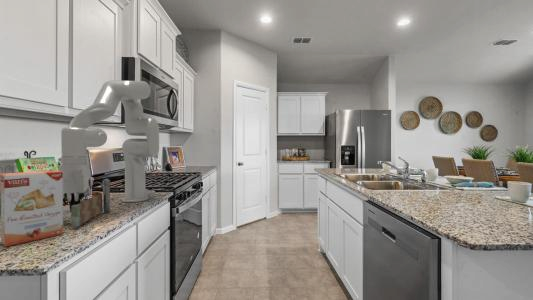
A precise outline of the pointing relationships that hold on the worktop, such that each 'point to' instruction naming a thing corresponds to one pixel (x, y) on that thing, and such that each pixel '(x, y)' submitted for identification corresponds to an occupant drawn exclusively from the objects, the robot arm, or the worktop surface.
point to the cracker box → (31, 206)
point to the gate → (86, 210)
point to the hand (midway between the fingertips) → (75, 211)
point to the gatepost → (106, 196)
